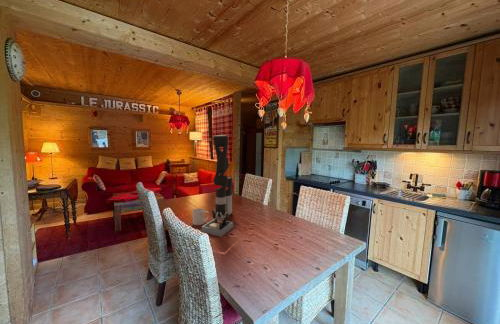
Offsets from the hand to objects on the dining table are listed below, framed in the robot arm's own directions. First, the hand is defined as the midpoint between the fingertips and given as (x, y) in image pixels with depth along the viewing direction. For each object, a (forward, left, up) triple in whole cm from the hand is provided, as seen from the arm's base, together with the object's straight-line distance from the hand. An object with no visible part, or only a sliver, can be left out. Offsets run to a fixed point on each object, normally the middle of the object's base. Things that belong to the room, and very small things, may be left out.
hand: (220, 224), depth 152 cm
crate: (+4, 0, -3) cm, 5 cm away
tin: (0, 0, -2) cm, 2 cm away
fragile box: (+8, 0, -2) cm, 8 cm away
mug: (-1, -19, -4) cm, 19 cm away
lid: (+8, 0, +3) cm, 9 cm away
